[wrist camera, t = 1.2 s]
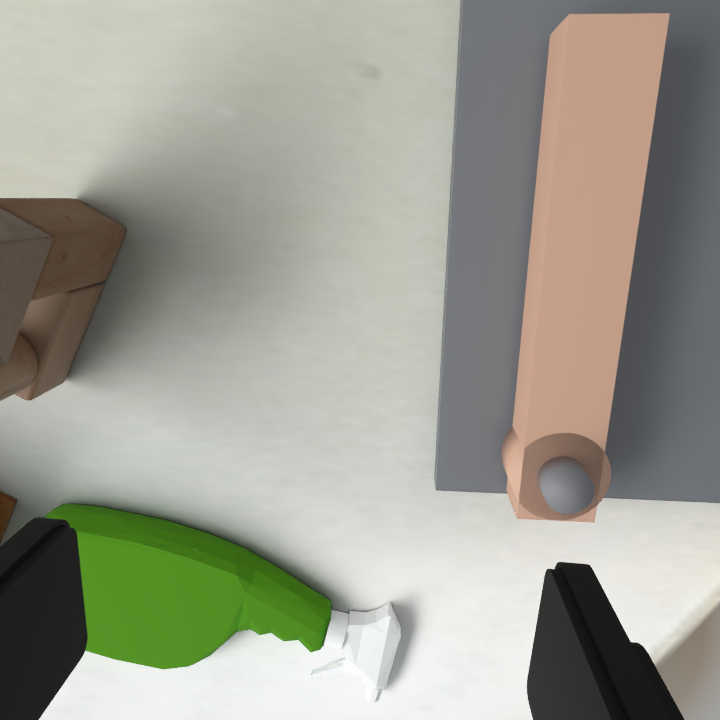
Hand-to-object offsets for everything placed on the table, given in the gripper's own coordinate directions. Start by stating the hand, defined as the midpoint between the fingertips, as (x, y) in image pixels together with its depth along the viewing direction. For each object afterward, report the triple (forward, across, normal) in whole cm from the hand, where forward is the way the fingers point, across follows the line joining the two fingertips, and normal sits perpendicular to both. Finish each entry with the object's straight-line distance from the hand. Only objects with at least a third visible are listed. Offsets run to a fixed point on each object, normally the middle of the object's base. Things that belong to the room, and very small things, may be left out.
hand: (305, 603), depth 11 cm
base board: (+22, -14, -5) cm, 27 cm away
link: (+20, -10, -4) cm, 23 cm away
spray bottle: (+23, +9, +19) cm, 31 cm away
